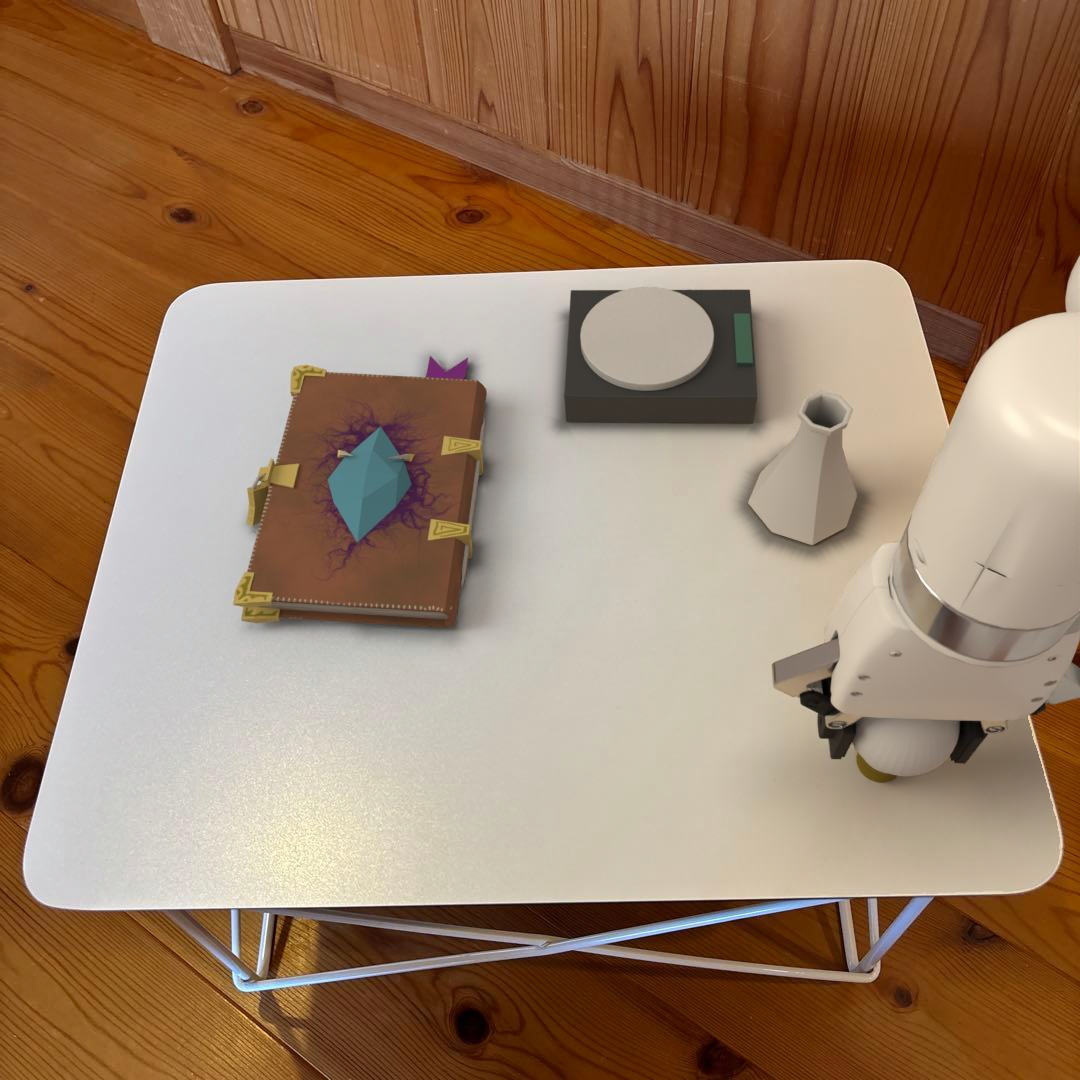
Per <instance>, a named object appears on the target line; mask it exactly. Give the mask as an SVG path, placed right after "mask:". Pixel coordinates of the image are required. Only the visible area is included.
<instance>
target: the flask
mask: <svg viewBox="0 0 1080 1080" xmlns="http://www.w3.org/2000/svg"><path fill="white" fill-rule="evenodd" d="M853 411H854V408H853V407H852V406H851V405H850V404H849V403H848V402H847V401H846V400H845V398H843V396H841V395H839V394H835V393H832V392H829V391H825V390H819V391H816V392H815V393H812V394H810V395H808V396H806V397H804V399H803V401H802V403H801V406H800V409H799V411H798V413H797V418H798V419H799V420H800V425H799V428H798V430H797V432H796V434H795V435H794V437H793V438H792V439H791V440H790V441H789V442H788V443H787V445H785V447H784V448H783V449H782V450H781V451H780V452H779V453H778V454H777V455H776V456H775V457H774V458H773V459H772V460H771V461H770V462H769V463H768V464H767V465H766V466H765V467H764V468H763V469H762V471H760V473H759V476H758V478H757V480H756V483H755V485H754V487H753V490H752V492H751V495H750V496H749V499H748V502H747V504H748V505H749V506H750V507H751V509H752V510H753V511H754V513H755V514H756V515H757V516H758V517H759V519H760V520H761V521H762V522H763V524H765V526H766V527H767V528H768V529H769V531H770V532H771V533H773V534H776V535H779V536H783V537H784V538H785V537H786V538H789V539H792V540H794V541H797V542H801V543H804V544H806V545H807V544H808V545H810V546H814V545H815V544H817V543H819V542H821V541H823V540H826V539H827V538H829V537H831V536H833V535H834V534H836V533H838V532H840V531H842V530H844V529H846V528H847V527H848V524H849V521H850V518H851V515H852V512H853V510H854V507H855V503H856V501H857V498H858V492H857V490H856V489H857V488H856V487H855V484H854V480H853V478H852V475H851V471H850V469H849V465H848V461H847V458H846V455H845V450H844V447H843V430H845V429H846V428H847V427H848V425H849V422H850V419H851V416H852V415H853Z"/></svg>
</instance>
